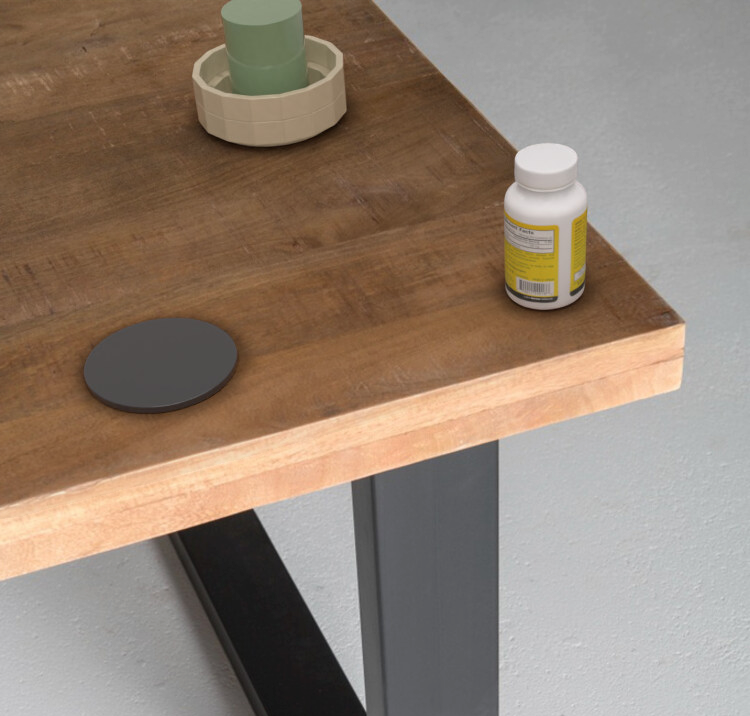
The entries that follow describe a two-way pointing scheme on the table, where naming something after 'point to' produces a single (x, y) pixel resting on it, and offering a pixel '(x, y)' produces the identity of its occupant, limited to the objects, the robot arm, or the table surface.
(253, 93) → the sage green cylinder
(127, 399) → the slate coaster
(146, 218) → the table surface
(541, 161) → the supplement bottle
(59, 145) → the table surface
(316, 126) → the cream bowl
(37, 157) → the table surface
